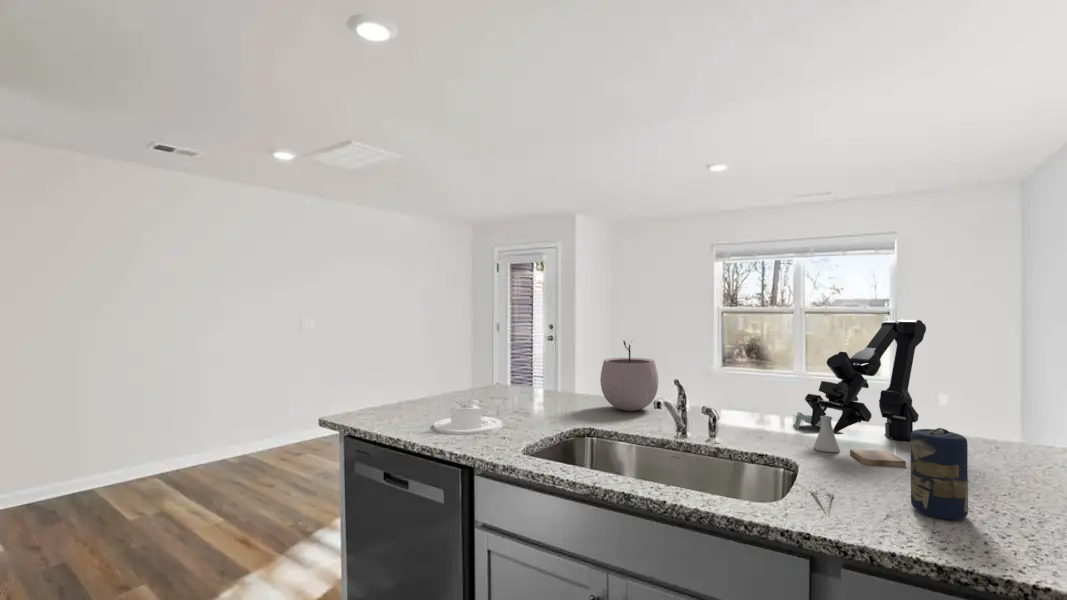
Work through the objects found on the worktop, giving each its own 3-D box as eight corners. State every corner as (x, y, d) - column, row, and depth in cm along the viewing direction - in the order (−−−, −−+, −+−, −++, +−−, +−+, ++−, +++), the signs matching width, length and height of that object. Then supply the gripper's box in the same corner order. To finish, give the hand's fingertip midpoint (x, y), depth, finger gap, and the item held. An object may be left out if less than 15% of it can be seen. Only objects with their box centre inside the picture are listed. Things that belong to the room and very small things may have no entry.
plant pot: (654, 404, 228) (653, 336, 228) (662, 416, 204) (662, 340, 204) (599, 403, 230) (599, 336, 230) (601, 415, 206) (601, 340, 207)
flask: (837, 447, 159) (837, 415, 159) (843, 454, 152) (842, 420, 152) (810, 445, 161) (810, 413, 161) (815, 452, 154) (815, 418, 154)
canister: (899, 505, 113) (898, 423, 113) (940, 504, 114) (939, 422, 114) (937, 524, 103) (936, 434, 104) (981, 522, 104) (980, 432, 104)
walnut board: (888, 456, 149) (888, 450, 149) (905, 466, 140) (905, 461, 140) (850, 454, 151) (850, 449, 151) (864, 464, 142) (864, 459, 142)
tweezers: (810, 494, 121) (810, 486, 121) (833, 498, 119) (833, 489, 119) (816, 529, 105) (816, 519, 105) (843, 533, 103) (843, 524, 103)
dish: (499, 435, 177) (499, 402, 177) (426, 435, 178) (426, 402, 178) (504, 419, 202) (504, 390, 202) (440, 419, 202) (440, 390, 202)
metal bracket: (805, 417, 177) (789, 408, 192) (801, 433, 177) (784, 423, 192) (848, 429, 175) (828, 419, 190) (843, 446, 175) (824, 435, 190)
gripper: (808, 368, 167) (783, 405, 162) (864, 375, 149) (838, 417, 145) (826, 391, 170) (801, 428, 165) (883, 400, 152) (857, 442, 148)
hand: (823, 428), depth 156 cm, fingers open, 7 cm apart
